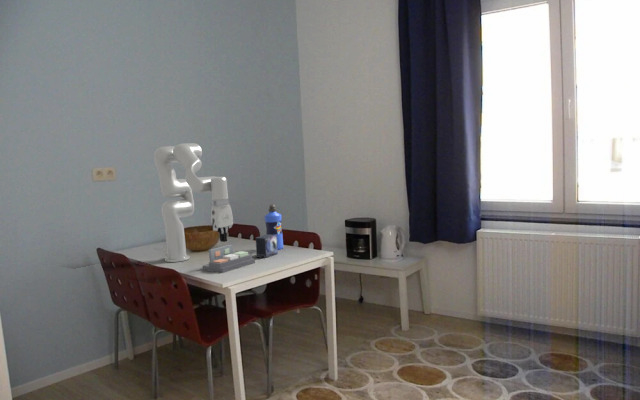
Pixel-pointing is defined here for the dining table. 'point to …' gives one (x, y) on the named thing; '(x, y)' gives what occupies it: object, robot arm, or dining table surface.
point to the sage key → (241, 253)
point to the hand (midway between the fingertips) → (223, 241)
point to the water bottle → (274, 225)
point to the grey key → (230, 256)
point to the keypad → (228, 265)
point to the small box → (266, 246)
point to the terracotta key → (220, 260)
